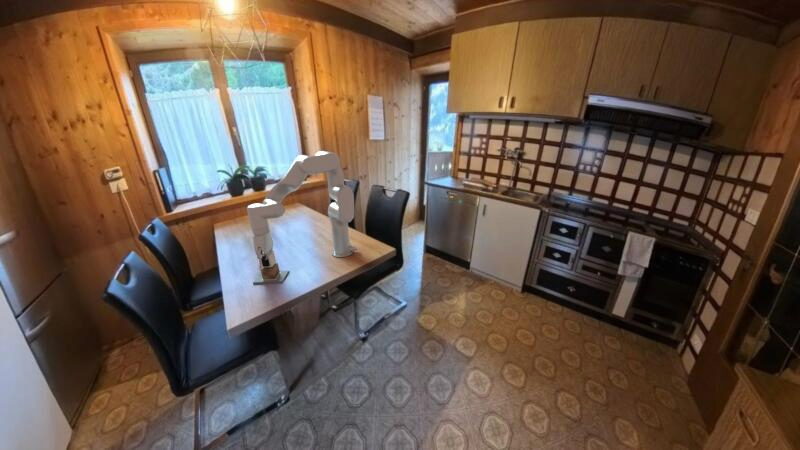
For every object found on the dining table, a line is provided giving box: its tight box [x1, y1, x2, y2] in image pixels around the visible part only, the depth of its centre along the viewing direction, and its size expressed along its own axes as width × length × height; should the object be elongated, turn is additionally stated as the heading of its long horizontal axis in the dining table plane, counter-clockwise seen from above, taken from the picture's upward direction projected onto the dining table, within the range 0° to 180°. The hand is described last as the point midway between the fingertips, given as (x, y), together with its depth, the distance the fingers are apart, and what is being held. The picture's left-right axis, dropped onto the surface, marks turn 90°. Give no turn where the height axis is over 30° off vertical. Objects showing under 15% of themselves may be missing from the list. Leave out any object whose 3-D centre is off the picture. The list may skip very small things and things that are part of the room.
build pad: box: [252, 270, 290, 285], centre depth 134 cm, size 14×10×1 cm
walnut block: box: [260, 262, 281, 280], centre depth 133 cm, size 6×6×6 cm
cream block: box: [259, 250, 277, 268], centre depth 130 cm, size 5×5×6 cm
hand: (268, 263), depth 131 cm, fingers closed on cream block, 4 cm apart
